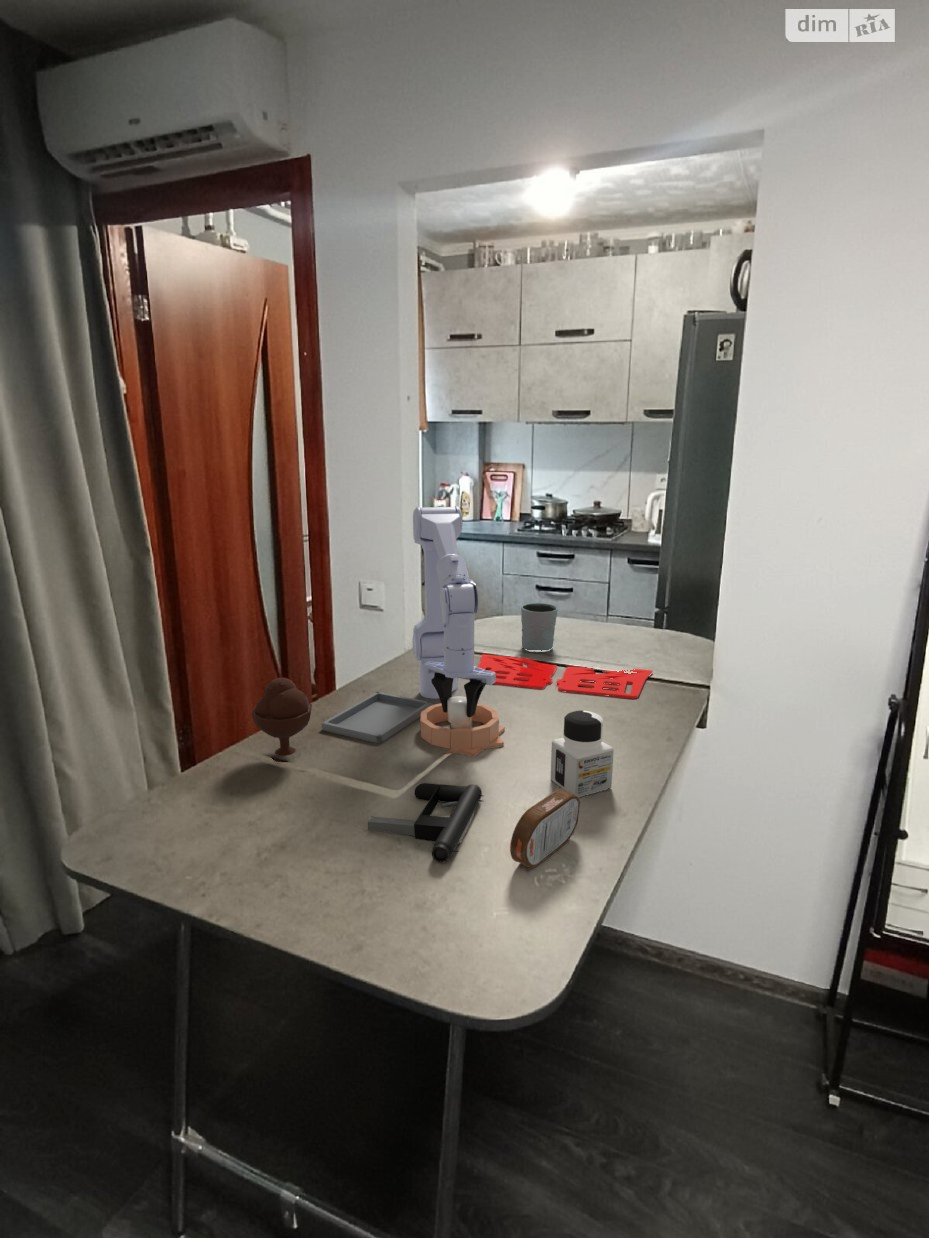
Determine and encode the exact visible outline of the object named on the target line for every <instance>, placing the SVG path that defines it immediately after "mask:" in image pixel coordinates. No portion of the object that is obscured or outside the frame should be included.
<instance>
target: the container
mask: <svg viewBox="0 0 929 1238" xmlns="http://www.w3.org/2000/svg"><path fill="white" fill-rule="evenodd" d="M603 730H604V719H603V717H602V716H601V715H600V714H598V713H595V712H593V711H590V710H581V709H580V710H575V711H570V712H568V713H566V715H565V716H564V718H563V737H561V738H555V739H552V741H551V750H550V752H551V753H550V754H551V755H550V756H551V757H550V780H551V781H552V782H553V783H554V784H556V785H557V786H558V787H560V789H565V790H566V791H568V792H570V793H572V794H574V795H576V796H577V797H578V798H579V799H580V798H581V797H586V796H589V795H588V794H590V795H593V794H596V792H597V793H599V792H598V791H600V792H603V791H602V790H604V791H607V790H606V789H608V788H610V789H611V788H612V783H613V782H612V780H613V766H614V765H613V764H614V751H615V750H614V747H612V746H611V745H609V744H607V743H606V742H604V741H603V734H604V731H603ZM608 790H609V789H608ZM585 795H586V796H585Z"/></svg>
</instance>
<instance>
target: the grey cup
mask: <svg viewBox="0 0 929 1238" xmlns="http://www.w3.org/2000/svg"><path fill="white" fill-rule="evenodd" d="M558 609H559V608H558V607H557V606H555V605H553V604H550V603H542V602H531V603H530V602H529V603H526V604H525V603H524V604H522V605H521V607H520V611H521V612H520V613H521V614H520V615H521V616H520V617H521V648H522V647H523V648H524V649H527V650H541V651H542V650H549V649H551V648H552V647H553V648H554V641H555V639H554V637H555V631H556V630H555V628H556V625H557V616H558ZM553 648H552V649H553Z"/></svg>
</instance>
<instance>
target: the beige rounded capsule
mask: <svg viewBox="0 0 929 1238" xmlns="http://www.w3.org/2000/svg"><path fill="white" fill-rule="evenodd" d="M471 728H473V721H472V717H471V718H470V721H469V722H468V723H465V724H453V723H450V729H471Z"/></svg>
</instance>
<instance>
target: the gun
mask: <svg viewBox="0 0 929 1238" xmlns="http://www.w3.org/2000/svg"><path fill="white" fill-rule="evenodd" d="M413 792H414V793H413V794H414V797H415V799H417V800H420V801H427V803H426V805H425V806H424V808H423V810H422V811H421V812H420V814H418V817H417V819H407V818H397V817H385V816H372V815H371V816H370V818H369V819H368V820H367V822H366V823H367V830H371V831H377V832H384V833H390V834H397V835H408V836H414V840H420V841H426V842H433V845H432V850H431V856H432V859H433V860H435V861H436V862H437V863H446V862H447V860H449V859H450V858H451V857H452V855H453V854H454V853H456V852H457V853H459V852H460V851H459V850H456V848H457V846H458V844H461V843H462V842H463V839H464V837H465V835H466V833H467V830H468V829H469V826H470V825H471V822H472V821H473V819H474V816H475V809H476V808H477V806H478V805H479V802H483V800H481V798H482V797H483V792H482V789H481V788H480V786H479V785H478V784H474V783H471V784H469V785H466V786H465V785H456V784H455V785H454V784H442V783H440V784H439V783H427V782H422V783H419V784H418V785H416V787H415V789H414V791H413ZM439 802H445V803H441V804H440V805H441V808H442V809H444V808H448V807H454V808H453V810H452V811H451V813H450V815H449V816H439V815H437V816H435V815H432V814H433V812H434V811H435V808H436V807H437V805H438V803H439Z"/></svg>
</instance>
